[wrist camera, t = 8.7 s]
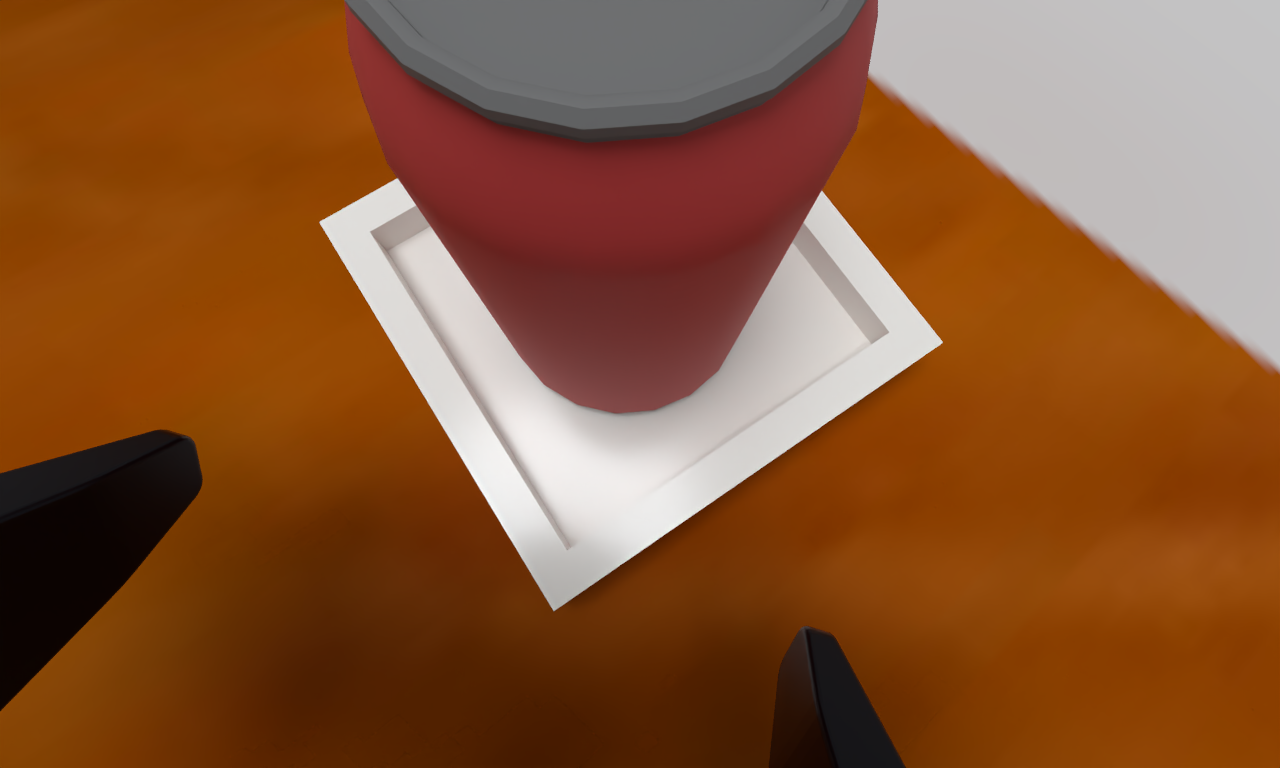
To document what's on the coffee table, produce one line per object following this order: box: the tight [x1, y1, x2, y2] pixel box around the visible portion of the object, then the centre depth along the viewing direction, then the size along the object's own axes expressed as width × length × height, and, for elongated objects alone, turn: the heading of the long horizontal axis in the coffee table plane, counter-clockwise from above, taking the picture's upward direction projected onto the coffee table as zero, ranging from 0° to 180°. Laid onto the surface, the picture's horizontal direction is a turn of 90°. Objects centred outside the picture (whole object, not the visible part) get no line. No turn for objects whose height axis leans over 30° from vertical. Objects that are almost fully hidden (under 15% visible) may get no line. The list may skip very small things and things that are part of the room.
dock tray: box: [320, 178, 943, 611], centre depth 17 cm, size 12×12×2 cm
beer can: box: [345, 0, 878, 413], centre depth 12 cm, size 7×7×12 cm
